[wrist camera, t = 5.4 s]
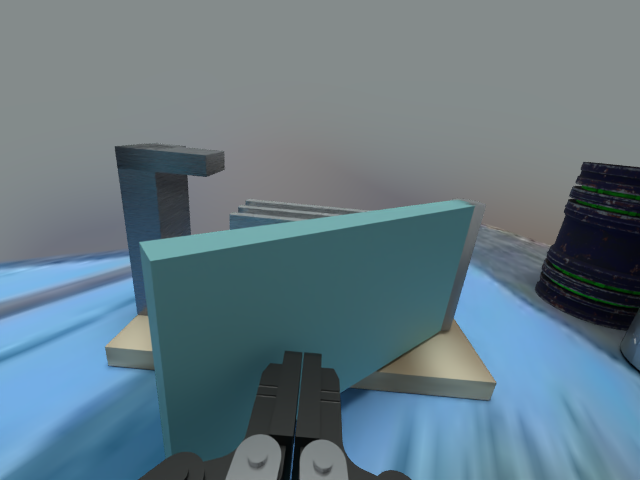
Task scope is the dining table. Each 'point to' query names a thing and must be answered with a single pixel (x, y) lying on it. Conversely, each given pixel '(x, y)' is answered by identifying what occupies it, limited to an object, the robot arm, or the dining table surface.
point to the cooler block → (184, 199)
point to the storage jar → (597, 249)
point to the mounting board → (397, 376)
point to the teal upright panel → (294, 306)
